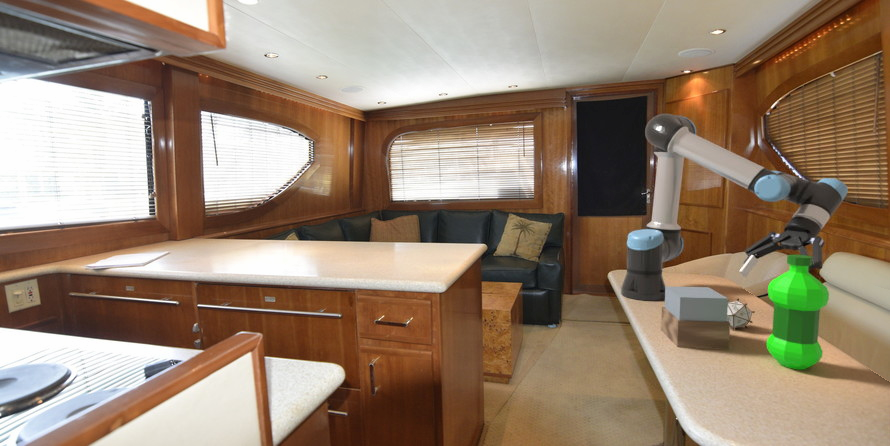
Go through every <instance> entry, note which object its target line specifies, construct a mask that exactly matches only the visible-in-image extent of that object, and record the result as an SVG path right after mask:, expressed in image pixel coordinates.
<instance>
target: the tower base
mask: <svg viewBox="0 0 890 446" xmlns="http://www.w3.org/2000/svg"><path fill="white" fill-rule="evenodd" d="M660 325H661V329H660V330H661V332H662V333H663V334H664V335H665V336H666V337H667V338H668V339H669V340H670V342H672V343H673V344H674V345H675V346H676V347H677V348H690V349H691V348H695V349H699V348H700V349H722V350H725V349H726V350H729V349H730V331H731V326H730V322H729V321H727V322H712V321H681V320H678V319H677V318H676V317H675V316H674V315H673V314H671V313H670V312H669V311H668V310H667V309H666V308H665V306H662V307H661V322H660Z"/></svg>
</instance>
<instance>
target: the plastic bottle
mask: <svg viewBox="0 0 890 446" xmlns="http://www.w3.org/2000/svg"><path fill="white" fill-rule="evenodd" d="M812 261H813V256H811V255H808V256H806V255H801V254H788V255H787V258H786V264H787V265H789V270H787V271H786V272H784V273H782V274H781V275H779V276H777V277H775V278H774V279H772V280H771V281H770V282H769V283H768V286H767V294H768V298H769V300H770V301H771V302H773V313H772V314H773V317H772V330H771V331H772V333H771V334H770V335H769V337H768V338H767V340H766V348H767V350H768V352H769V354H770V355H771V356H772V357H773V359H774V360H775V361H776V362H777V363H779V365H780V366H783V367H786V368H789V369H793V370H806V369H808V368H810V367H812V366H814V365H815V364H817V363H819V362H820V360H821V359H822V358H823V353H824V351H823V349H822V346H821V344H820V342H819V340H818V339H819V328H820V327H819V325H820V312H821V309H822V308H824V307H826V306H827V305H828V301H829V299H830V293H829V290H828V287H827V286H826V285H825V284H824V283H822V282H821V281H820V280H819V279H817V278H816V277H815V276H814V275H812V274H811V273H810V271H809V272H808V268H809V266H811V265H812Z"/></svg>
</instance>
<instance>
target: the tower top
mask: <svg viewBox="0 0 890 446" xmlns="http://www.w3.org/2000/svg"><path fill="white" fill-rule="evenodd" d="M728 302H729V298H728V297H726V296H724V295H723V294H721V293H719V292H718V291H716V290H714V289H712V288H711V287H709V286H668V285H665V299H664V307H665V308H666V309H667V310H668V311H669V312H670V313H671V314H673V315H674V316H675V317H676V318H677V319H678V320H681V321H712V322H727V309H728Z"/></svg>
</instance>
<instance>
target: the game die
mask: <svg viewBox="0 0 890 446" xmlns="http://www.w3.org/2000/svg"><path fill="white" fill-rule="evenodd" d="M739 300H740V299H739V298H736V300H733V301H728V309H727V321H729V322H730V328H732V331H735V330H736V329H737V328H743V327H744V328H746V329H748V326H747V325H748V324H749V323H750V324H753V320H751V318H752V315H753V314H755V313H756V311H755V310H753V311H752V310H751V309H750V308H749V307H748V303H746V302H745V303H742V302H740V301H739Z"/></svg>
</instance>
